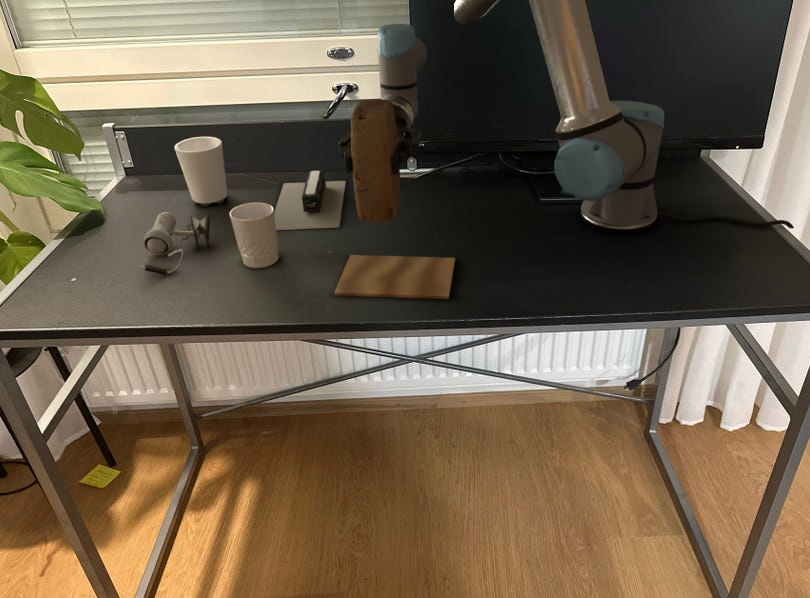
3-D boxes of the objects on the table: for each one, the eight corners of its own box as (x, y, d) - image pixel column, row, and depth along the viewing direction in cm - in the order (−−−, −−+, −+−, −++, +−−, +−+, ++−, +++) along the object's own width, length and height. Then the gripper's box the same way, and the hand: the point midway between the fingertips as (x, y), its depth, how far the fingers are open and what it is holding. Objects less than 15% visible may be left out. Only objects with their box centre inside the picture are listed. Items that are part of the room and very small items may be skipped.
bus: (345, 180, 164) (343, 163, 161) (339, 227, 143) (337, 208, 141) (283, 183, 163) (281, 166, 161) (268, 230, 143) (265, 211, 141)
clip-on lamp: (198, 288, 130) (217, 227, 142) (191, 262, 126) (212, 202, 137) (134, 285, 130) (158, 224, 142) (125, 259, 125) (151, 198, 137)
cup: (213, 188, 162) (201, 133, 154) (242, 197, 157) (231, 141, 150) (178, 202, 156) (164, 146, 148) (207, 213, 151) (194, 155, 143)
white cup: (289, 253, 135) (281, 204, 129) (268, 272, 129) (259, 222, 123) (253, 248, 137) (244, 200, 131) (231, 266, 131) (221, 217, 125)
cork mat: (455, 260, 131) (455, 257, 130) (448, 299, 120) (448, 296, 119) (350, 257, 133) (350, 254, 132) (334, 295, 122) (334, 292, 121)
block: (395, 226, 125) (388, 113, 113) (354, 225, 126) (343, 112, 114) (405, 201, 134) (400, 94, 122) (366, 200, 135) (358, 93, 123)
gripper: (443, 142, 139) (430, 187, 120) (344, 141, 141) (316, 185, 123) (442, 103, 134) (429, 144, 116) (340, 103, 136) (310, 143, 118)
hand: (371, 165), depth 119 cm, fingers closed on block, 7 cm apart
